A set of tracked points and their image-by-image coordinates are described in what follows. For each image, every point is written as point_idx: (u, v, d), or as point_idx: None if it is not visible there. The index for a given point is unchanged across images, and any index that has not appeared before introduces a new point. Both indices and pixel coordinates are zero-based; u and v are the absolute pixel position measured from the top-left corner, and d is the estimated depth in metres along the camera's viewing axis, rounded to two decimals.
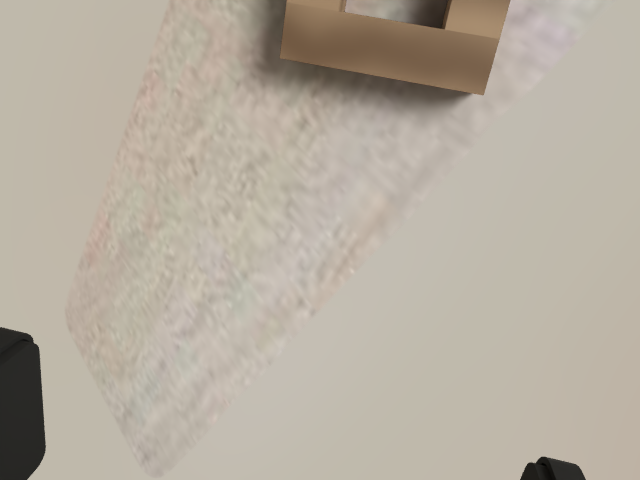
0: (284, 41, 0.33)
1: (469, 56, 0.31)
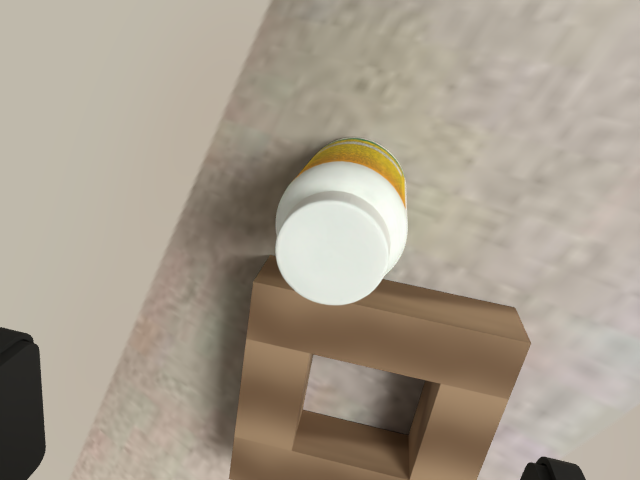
0: (233, 466, 0.29)
1: None
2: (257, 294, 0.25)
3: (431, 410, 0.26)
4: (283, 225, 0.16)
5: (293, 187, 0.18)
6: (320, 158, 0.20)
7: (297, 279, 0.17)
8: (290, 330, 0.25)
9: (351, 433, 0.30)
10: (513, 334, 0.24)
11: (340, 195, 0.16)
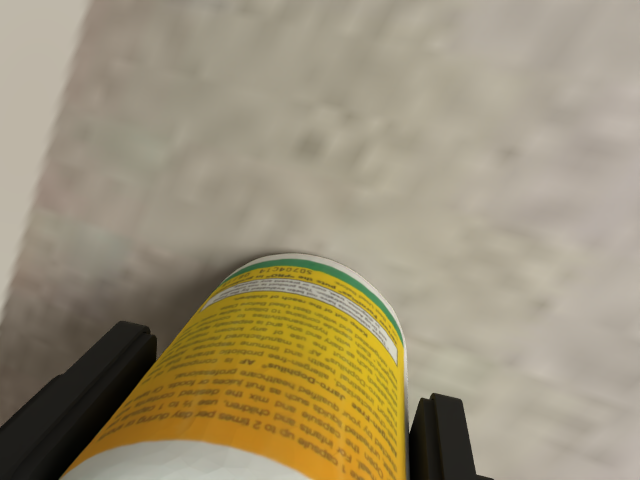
0: None
1: None
2: None
3: None
4: None
5: None
6: (174, 370, 0.07)
7: None
8: None
9: None
10: None
11: None
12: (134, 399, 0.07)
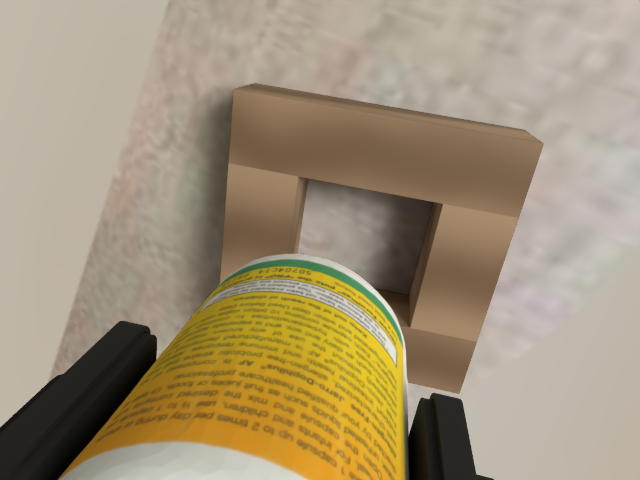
0: None
1: (440, 355, 0.26)
2: (238, 105, 0.22)
3: (433, 239, 0.23)
4: None
5: None
6: (172, 371, 0.07)
7: None
8: (276, 148, 0.23)
9: None
10: (523, 138, 0.21)
11: None
12: (132, 400, 0.07)
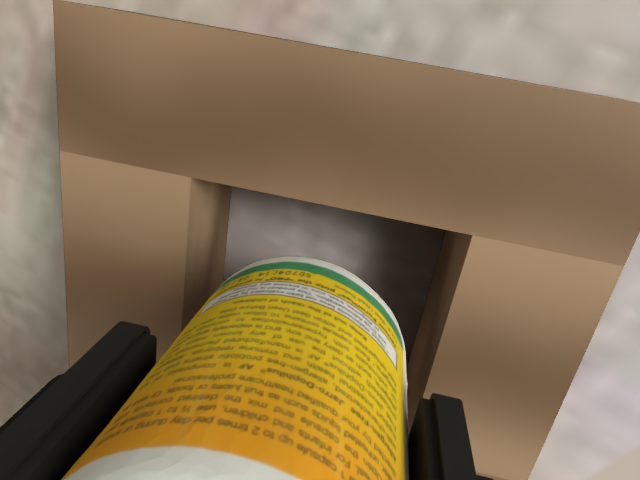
0: None
1: None
2: (66, 33, 0.11)
3: (451, 302, 0.12)
4: None
5: None
6: (172, 375, 0.07)
7: None
8: (145, 122, 0.12)
9: None
10: None
11: None
12: (132, 404, 0.07)
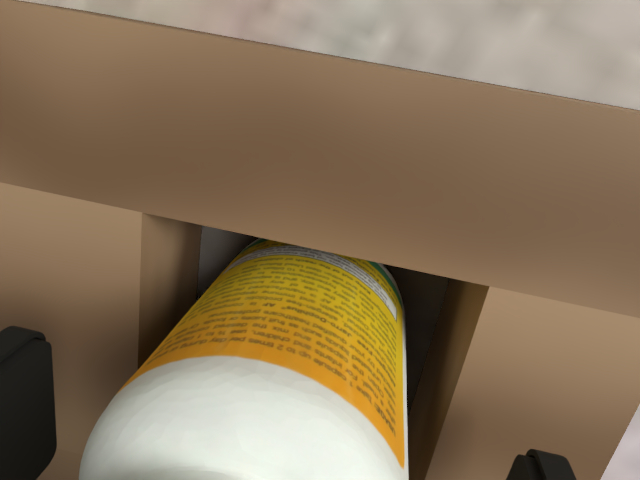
0: None
1: None
2: None
3: (461, 364, 0.10)
4: None
5: (105, 429, 0.07)
6: (206, 313, 0.09)
7: None
8: (84, 145, 0.09)
9: None
10: None
11: None
12: (173, 335, 0.08)
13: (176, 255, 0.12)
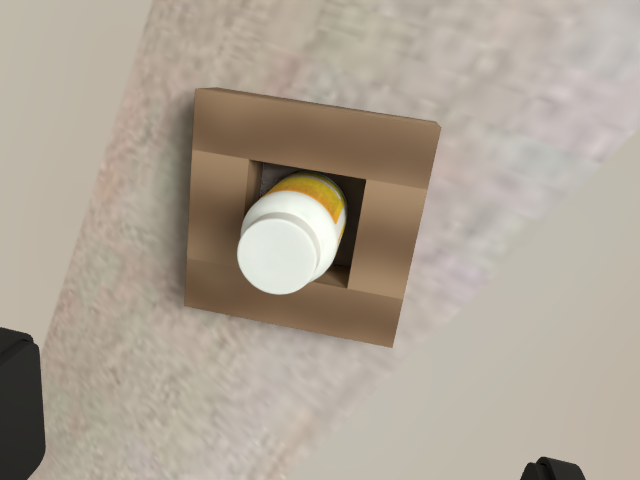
0: (187, 292, 0.32)
1: (374, 312, 0.30)
2: (199, 101, 0.28)
3: (361, 210, 0.28)
4: (242, 237, 0.23)
5: (252, 210, 0.25)
6: (274, 188, 0.27)
7: (253, 276, 0.24)
8: (230, 136, 0.28)
9: None
10: (427, 124, 0.27)
11: (281, 215, 0.23)
12: (265, 194, 0.27)
13: (254, 181, 0.31)
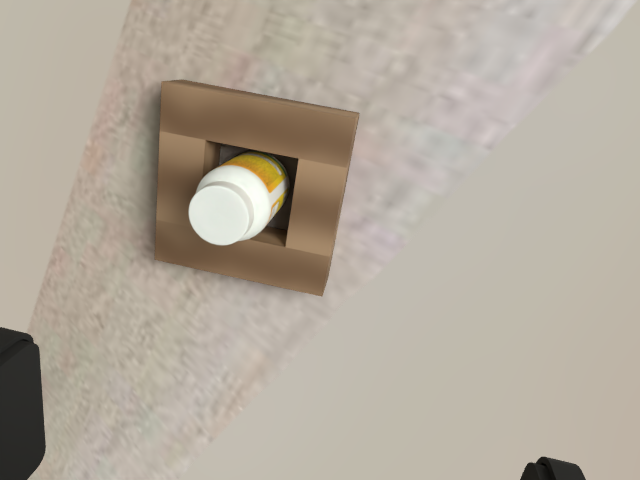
0: (157, 248, 0.39)
1: (307, 267, 0.37)
2: (165, 92, 0.34)
3: (295, 183, 0.35)
4: (192, 199, 0.30)
5: (203, 180, 0.32)
6: (224, 163, 0.34)
7: (201, 230, 0.31)
8: (190, 121, 0.35)
9: None
10: (346, 115, 0.33)
11: (223, 183, 0.30)
12: None
13: (212, 158, 0.37)
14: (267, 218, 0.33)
